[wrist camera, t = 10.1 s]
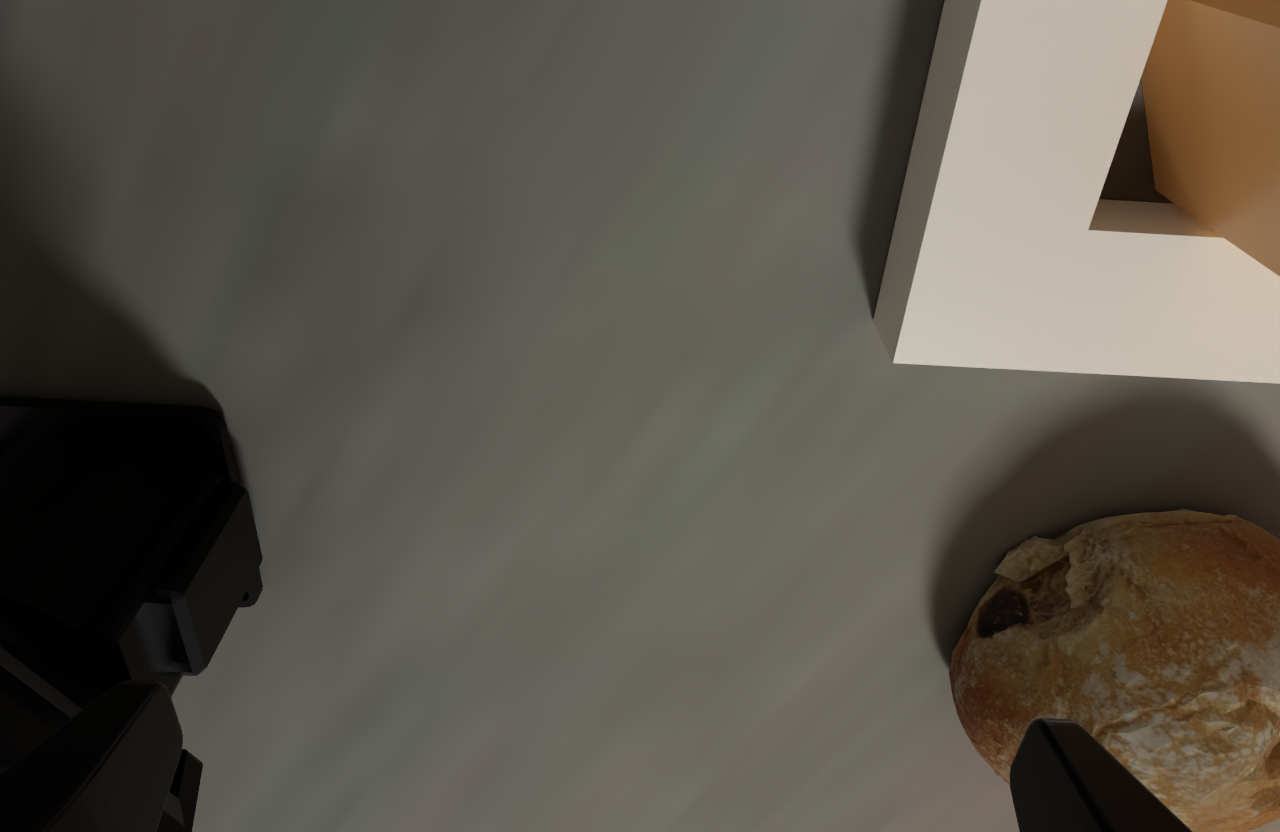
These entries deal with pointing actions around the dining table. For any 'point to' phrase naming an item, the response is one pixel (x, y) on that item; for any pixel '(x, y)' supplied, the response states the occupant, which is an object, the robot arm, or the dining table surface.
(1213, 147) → the plug
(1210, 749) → the bread roll
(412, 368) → the dining table surface
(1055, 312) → the socket plate
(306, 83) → the dining table surface
